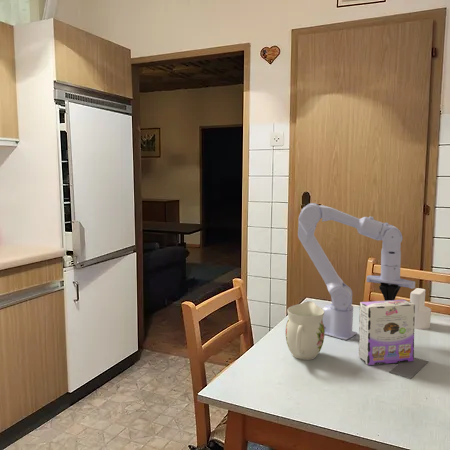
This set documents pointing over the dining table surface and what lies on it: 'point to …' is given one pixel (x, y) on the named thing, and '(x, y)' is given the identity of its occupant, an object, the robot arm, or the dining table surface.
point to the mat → (409, 368)
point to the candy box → (386, 332)
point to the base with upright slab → (420, 309)
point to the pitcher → (305, 330)
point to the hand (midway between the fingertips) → (389, 307)
